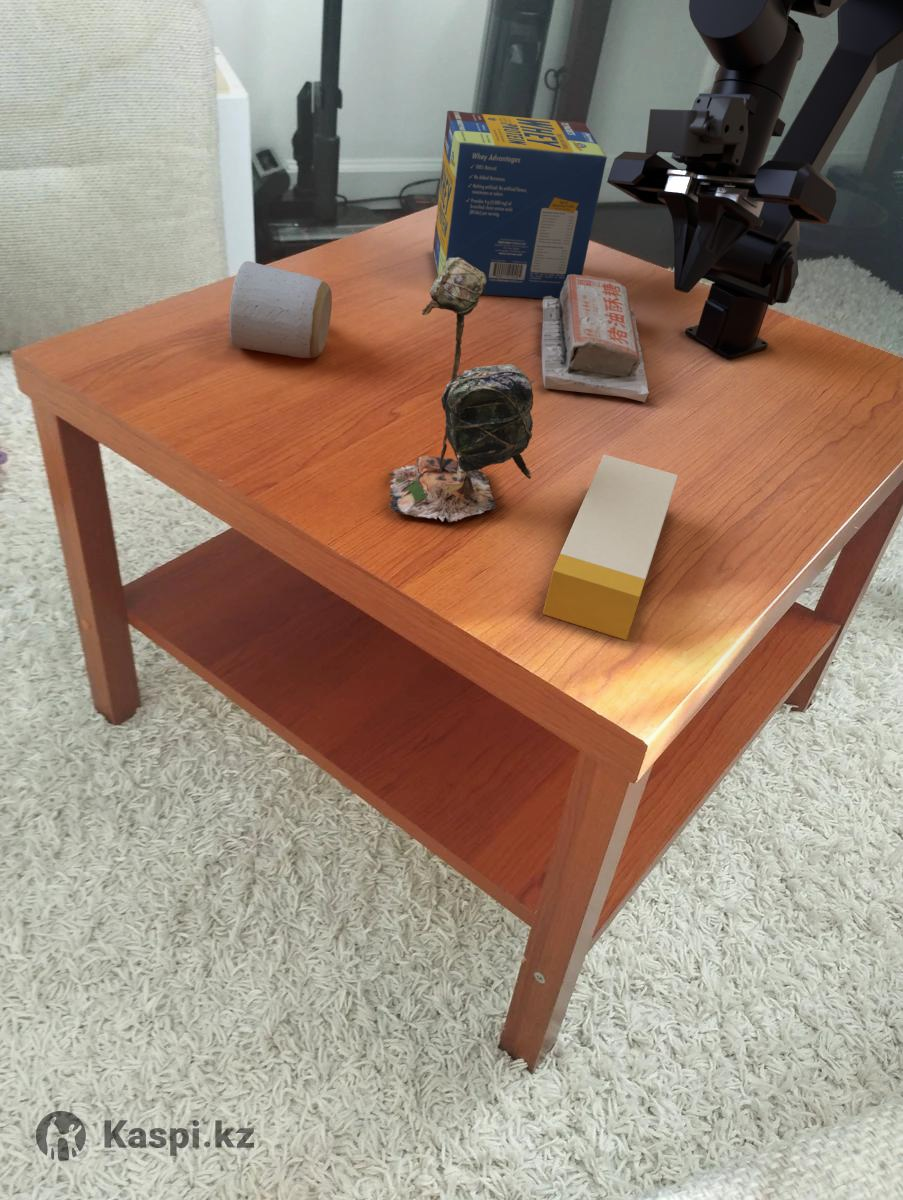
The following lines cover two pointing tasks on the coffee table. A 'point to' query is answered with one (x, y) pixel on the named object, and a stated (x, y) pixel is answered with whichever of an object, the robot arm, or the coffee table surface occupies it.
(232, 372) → the coffee table surface
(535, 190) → the protein box
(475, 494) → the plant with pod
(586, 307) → the packaged product
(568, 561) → the block
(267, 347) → the grey cylinder
